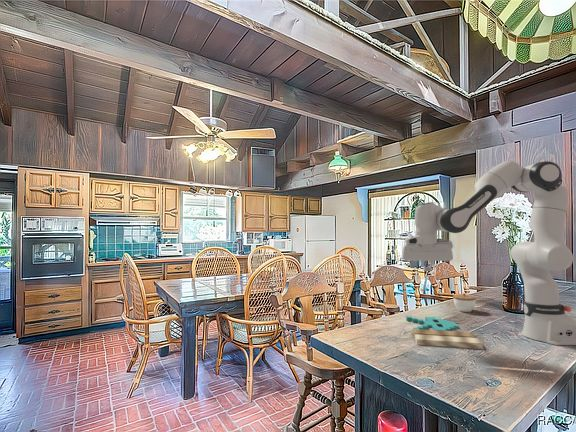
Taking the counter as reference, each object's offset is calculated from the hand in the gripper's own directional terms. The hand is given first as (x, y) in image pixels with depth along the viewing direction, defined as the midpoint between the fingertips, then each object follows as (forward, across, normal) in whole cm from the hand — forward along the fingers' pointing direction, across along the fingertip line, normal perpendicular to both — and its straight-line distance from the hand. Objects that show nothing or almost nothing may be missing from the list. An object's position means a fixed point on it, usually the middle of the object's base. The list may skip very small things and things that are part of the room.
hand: (427, 271), depth 137 cm
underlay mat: (+27, -4, +9) cm, 29 cm away
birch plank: (+27, -4, +13) cm, 30 cm away
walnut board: (+27, -4, +6) cm, 28 cm away
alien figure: (+28, -3, -10) cm, 30 cm away
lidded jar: (+27, -25, -42) cm, 56 cm away
